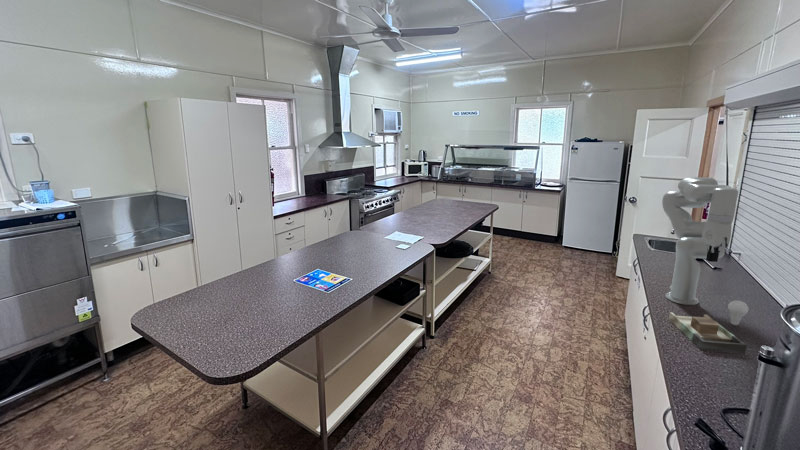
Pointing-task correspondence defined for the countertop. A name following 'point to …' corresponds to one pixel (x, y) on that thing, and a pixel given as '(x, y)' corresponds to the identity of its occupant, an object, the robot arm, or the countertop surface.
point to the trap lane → (709, 336)
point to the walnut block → (704, 325)
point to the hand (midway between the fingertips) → (711, 260)
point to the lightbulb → (737, 311)
